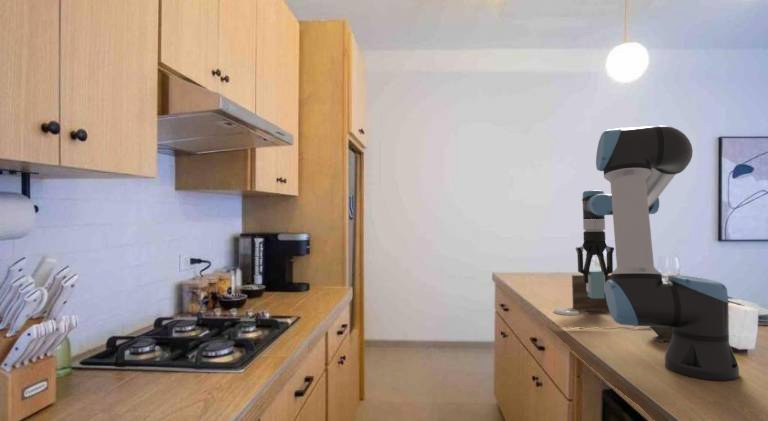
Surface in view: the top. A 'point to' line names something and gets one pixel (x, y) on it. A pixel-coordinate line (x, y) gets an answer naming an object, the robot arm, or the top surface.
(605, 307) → the dark brown wooden box
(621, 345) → the top surface
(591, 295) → the block
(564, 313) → the saucer
